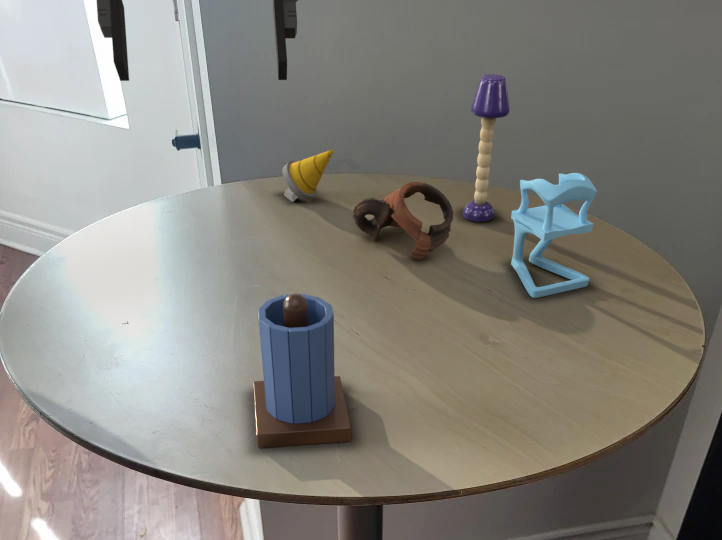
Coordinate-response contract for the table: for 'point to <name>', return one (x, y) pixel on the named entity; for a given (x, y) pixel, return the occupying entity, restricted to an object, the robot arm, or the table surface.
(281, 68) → the robot arm
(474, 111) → the toy lamp
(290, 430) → the stand
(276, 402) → the blue fluted tube
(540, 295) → the chair
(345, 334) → the table surface
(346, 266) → the table surface
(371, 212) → the brown looped strap
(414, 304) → the table surface
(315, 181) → the drill bit
